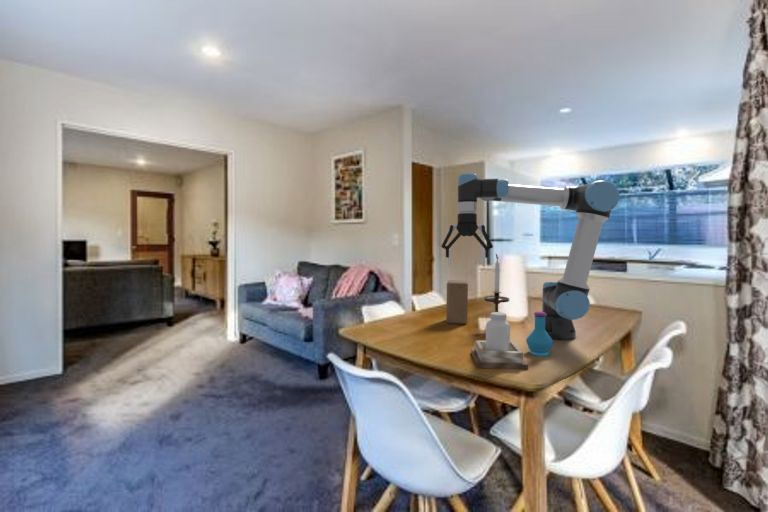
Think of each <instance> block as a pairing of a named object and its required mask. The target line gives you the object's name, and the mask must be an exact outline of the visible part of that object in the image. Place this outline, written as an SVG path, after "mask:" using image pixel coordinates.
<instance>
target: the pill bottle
mask: <svg viewBox="0 0 768 512" xmlns="http://www.w3.org/2000/svg"><path fill="white" fill-rule="evenodd" d="M489 316H490V318H489V320H487V321H486V323H485V341H486V351H509V349H510V341H511V340H510V339H511V325H510V323H509V322H508V321H507V313H505V312H502V311H501V312H500V311H498V312H495V311H492V312H490V313H489Z"/></svg>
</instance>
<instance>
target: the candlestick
mask: <svg viewBox="0 0 768 512" xmlns="http://www.w3.org/2000/svg"><path fill="white" fill-rule="evenodd" d="M495 257H496V261H495V262H494V263H495V264H494V266H495V267H494V291H492V293H494V295H490V296H489V295H487V296H484V301H486V302H489V303H493V304H494V312H499V304H501V303H508V302H510V297H506V296H501V295H500V294H501V293H502V292H501V291H500V264H501V263H500V262H499V256H498V254H497V253H495Z"/></svg>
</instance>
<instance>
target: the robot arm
mask: <svg viewBox="0 0 768 512" xmlns="http://www.w3.org/2000/svg"><path fill="white" fill-rule="evenodd" d="M457 179H458V181H457V213H458V214H457V223H456V224H457V225H452V224H450V225H449V230H448V231H447V234H446V235H445V238H444V240H443V242H442V243H441V246H440V247H441V249H444V250H445V258H447V259H448V267H451V266H452V250H451V248H452V246H453V245H454V244H455V242H457V240H458V239H459V238H460V237H461V236H462V237H472V236H473V237H474V238H475V240H476V241H477V242H478V243H479V244H480V246H482V247H483V249H482V250H481V251H482V252H481V253H482V254H481V256H482V259H481V260H482V263H481V264H482V267H486V259H487V258H488V257H489V250H490V249H493V248H494V245H493V243H492V241H491V239H490V237H489V235H488V233H487V232H486V226H485V225H484V224H482V225H478V221H477V220H478V218H477V217H478V215H477V212H478V199H481V200H482V201H484V202H490V201H492V202H505V203H516V204H525V205H527V204H528V205H537V206H548V207H549V206H550V207H559V208H560V209H561V210H568V211H574V212H575V214H576V216H577V218H578V220H577V224H576V226H575V227H576V228H575V230H574V231H575V232H574V235H573V238H572V242H571V246H570V248H569V249H570V250H569V253H568V258H567V261H566V264H565V265H566V266H565V269H564V273H563V276H562V278H560V279H558V280H557V281H546V282H543V284H542V288H541V289H542V301H541V303H542V305H541V306H542V307H541V312H545V313H546V314H547V315H546V318H545V330H546V332H547V333H548V335H549V336H550V337H551V339H552V340H553V339H555V340H572V339H575V338H576V336H577V335H576V334H577V333H576V332H577V331H576V327H575V325H574V322H573V321H575V320H579V319H582V318H583V317H585V316H586V315H587V314H588V312H589V310H590V309H591V304H590V299H589V297H588V296H589V293H590V287H589V285H588V279H589V275H590V271H591V268H592V264H593V261H594V257H595V253H596V251H597V246H598V242H599V240H600V239H599V238H600V235H601V232H602V227H603V224H604V223H605V222H606V221H608V220H609V219H610V215H611V212H612V210H614V209H615V208H616V207H617V205H618V204H619V202H620V191H619V189H618V188H617V186H616V185H615V184H614V183H613V182H610V181H609V180H594V181H592V182H590V183H587V184H582V185H578V186H577V185H576V186H566V185H565V186H564V187H560V188H558V187H550V186H549V187H547V186H535V185H522V184H510V183H509V180H508V179H507V178H500V177H499V178H478V174H476V173H474V172H473V173H471V172H470V173H469V172H468V173H462V174H460V175H459V176H458V178H457ZM455 230H457V234H456V235H455V236H454V237H453V238H452V239H451V241H450V242H448V241H449V239H450V237H451V235H452V234H453V232H454V231H455ZM478 230H479V231H481V234H482V235H483V239H484V240H485V242H486V243H485V242H484V241H483V240H482V238H481V237H480V236H479V235H478V233H477V231H478ZM447 243H448V244H447Z"/></svg>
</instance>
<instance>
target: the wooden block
mask: <svg viewBox="0 0 768 512" xmlns="http://www.w3.org/2000/svg"><path fill="white" fill-rule="evenodd" d="M468 291H469V283H468V281H467V280H450V279H449V280H447V283H446V316H445V317H446V319H445V320H446V323H447V324H456V325H457V324H458V325H467V324H468V311H469V310H468V303H469V299H468V298H469V297H468V296H469V295H468V294H469V293H468Z"/></svg>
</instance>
